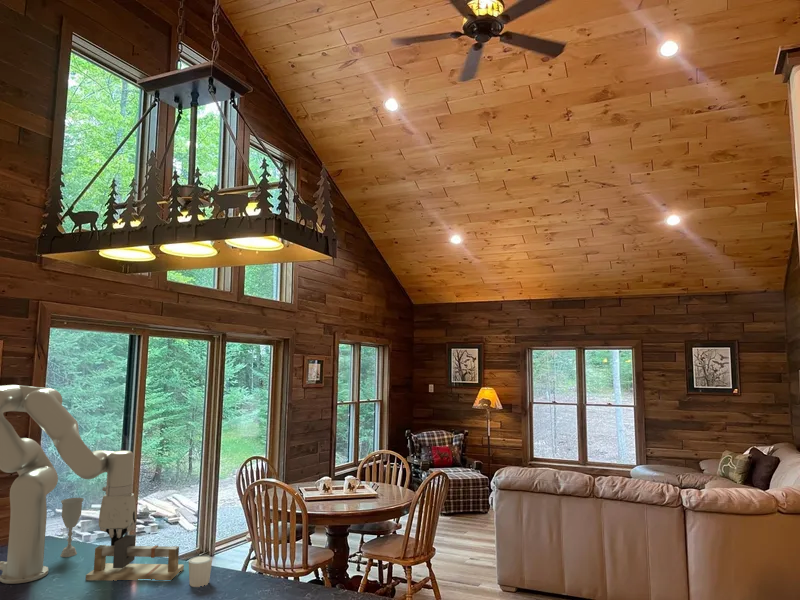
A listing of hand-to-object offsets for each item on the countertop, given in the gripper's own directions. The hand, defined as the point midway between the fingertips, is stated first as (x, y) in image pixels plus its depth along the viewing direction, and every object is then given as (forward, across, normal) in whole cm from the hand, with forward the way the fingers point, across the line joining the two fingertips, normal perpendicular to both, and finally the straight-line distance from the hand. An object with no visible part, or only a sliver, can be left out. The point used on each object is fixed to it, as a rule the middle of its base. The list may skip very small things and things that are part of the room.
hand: (116, 549), depth 182 cm
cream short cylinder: (+7, +30, -9) cm, 32 cm away
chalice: (+6, -23, +14) cm, 27 cm away
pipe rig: (+6, +8, -3) cm, 11 cm away
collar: (+3, +4, -3) cm, 6 cm away
